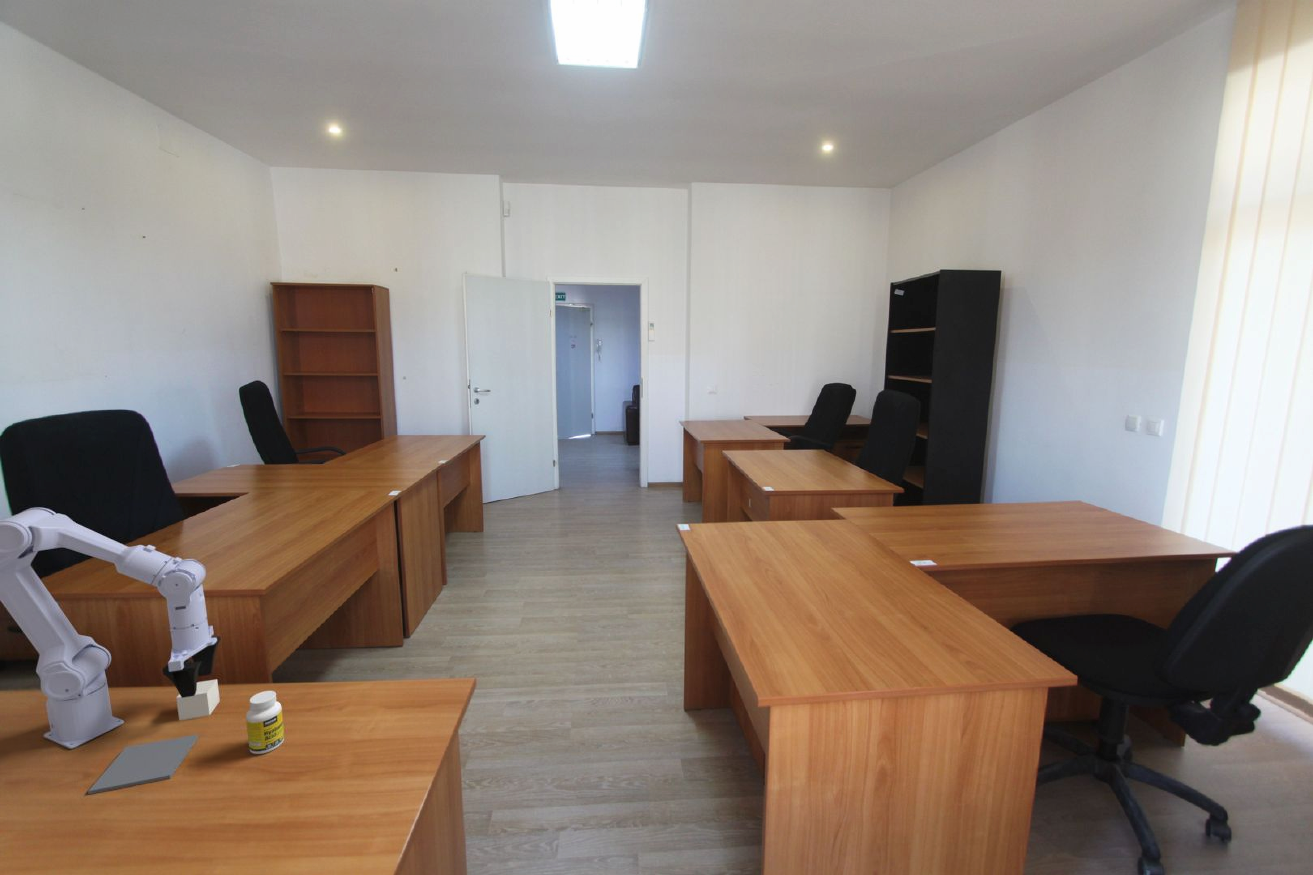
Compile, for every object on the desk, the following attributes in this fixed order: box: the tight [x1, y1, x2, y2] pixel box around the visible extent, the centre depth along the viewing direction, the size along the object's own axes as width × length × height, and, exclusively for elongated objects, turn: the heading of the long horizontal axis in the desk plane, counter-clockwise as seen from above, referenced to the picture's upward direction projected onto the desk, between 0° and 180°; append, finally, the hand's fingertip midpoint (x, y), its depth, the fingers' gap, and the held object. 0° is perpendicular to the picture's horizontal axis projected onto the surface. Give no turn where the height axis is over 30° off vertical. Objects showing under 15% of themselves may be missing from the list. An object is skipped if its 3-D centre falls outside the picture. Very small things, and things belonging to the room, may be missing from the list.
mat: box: [87, 734, 200, 795], centre depth 99 cm, size 11×11×1 cm
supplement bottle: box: [245, 690, 285, 755], centre depth 103 cm, size 5×5×10 cm
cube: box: [176, 678, 221, 721], centre depth 113 cm, size 5×5×5 cm
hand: (197, 684), depth 113 cm, fingers open, 7 cm apart
